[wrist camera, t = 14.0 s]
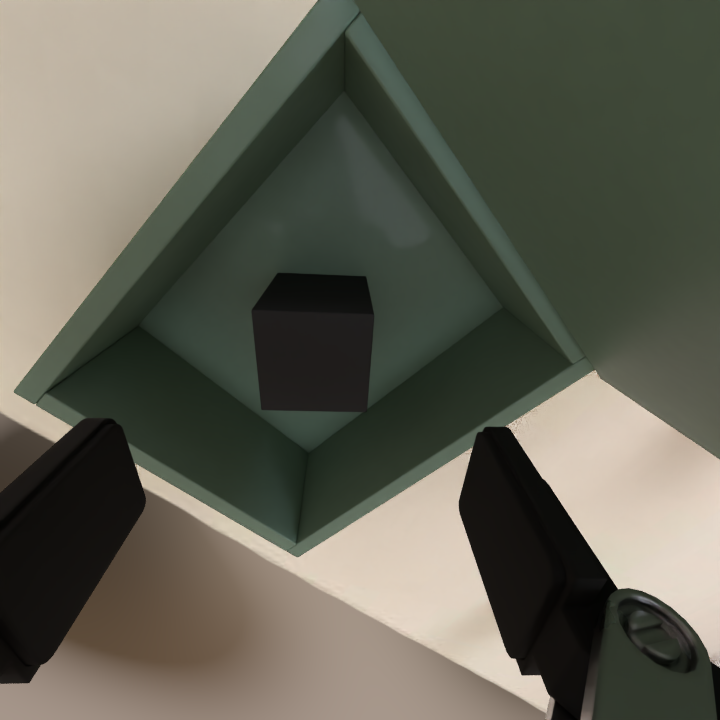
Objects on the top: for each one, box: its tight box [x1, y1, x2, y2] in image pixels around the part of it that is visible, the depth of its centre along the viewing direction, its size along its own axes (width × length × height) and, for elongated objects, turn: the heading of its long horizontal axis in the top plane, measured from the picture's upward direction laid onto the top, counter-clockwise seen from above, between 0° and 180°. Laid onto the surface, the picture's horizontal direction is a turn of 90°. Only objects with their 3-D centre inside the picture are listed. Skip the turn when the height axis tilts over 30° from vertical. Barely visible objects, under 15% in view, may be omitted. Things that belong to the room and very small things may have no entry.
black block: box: [251, 273, 374, 412], centre depth 16 cm, size 4×4×6 cm
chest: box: [14, 0, 595, 557], centre depth 16 cm, size 17×14×7 cm
